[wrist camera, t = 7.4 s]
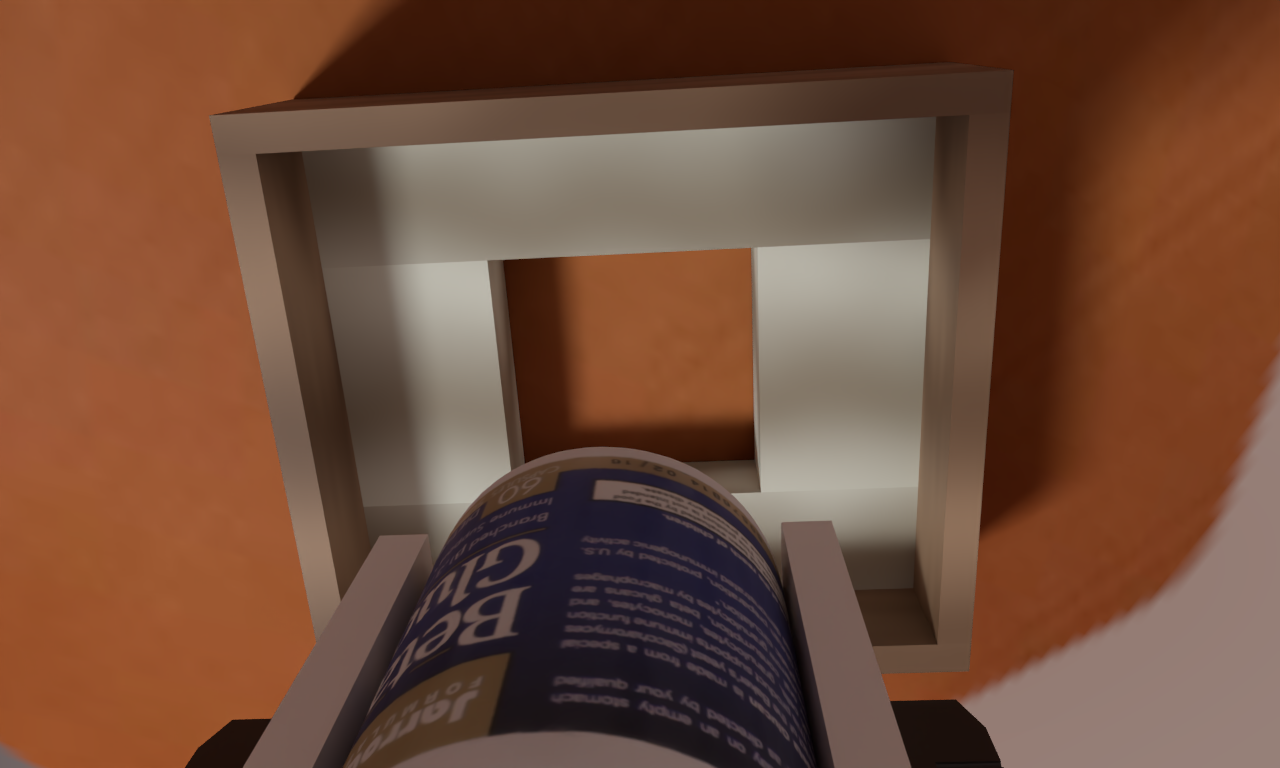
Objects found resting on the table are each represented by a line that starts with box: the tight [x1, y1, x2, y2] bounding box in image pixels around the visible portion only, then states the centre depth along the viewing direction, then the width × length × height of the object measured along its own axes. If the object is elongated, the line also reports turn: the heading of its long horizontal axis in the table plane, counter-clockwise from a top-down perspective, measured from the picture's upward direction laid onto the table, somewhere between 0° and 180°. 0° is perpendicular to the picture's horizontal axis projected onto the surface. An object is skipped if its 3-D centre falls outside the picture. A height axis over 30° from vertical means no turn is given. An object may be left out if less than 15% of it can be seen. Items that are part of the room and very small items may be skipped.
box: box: [209, 62, 1014, 674], centre depth 24 cm, size 14×16×4 cm
